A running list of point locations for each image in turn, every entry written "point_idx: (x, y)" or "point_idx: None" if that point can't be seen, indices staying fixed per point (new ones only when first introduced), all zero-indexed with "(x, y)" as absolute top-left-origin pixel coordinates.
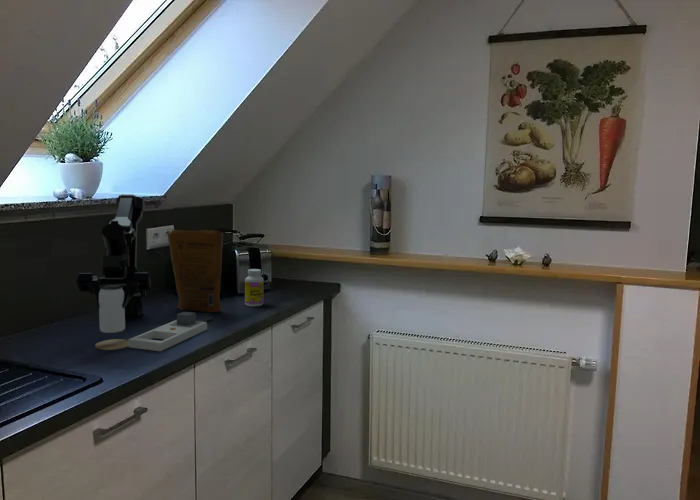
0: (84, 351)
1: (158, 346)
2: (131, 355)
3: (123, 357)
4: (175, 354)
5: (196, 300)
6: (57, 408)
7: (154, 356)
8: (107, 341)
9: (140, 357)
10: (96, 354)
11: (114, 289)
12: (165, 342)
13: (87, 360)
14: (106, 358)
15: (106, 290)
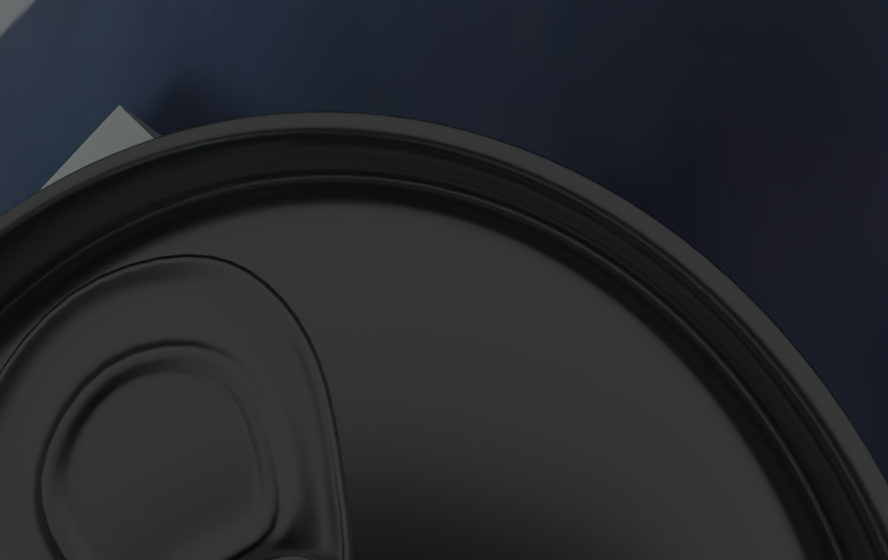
0: (865, 368)
1: (152, 132)
2: (409, 90)
3: (481, 50)
4: (84, 26)
5: None
6: None
7: (239, 14)
8: None
9: (346, 15)
10: (728, 214)
11: (180, 143)
12: (70, 172)
13: (813, 43)
14: (632, 59)
15: (568, 202)
